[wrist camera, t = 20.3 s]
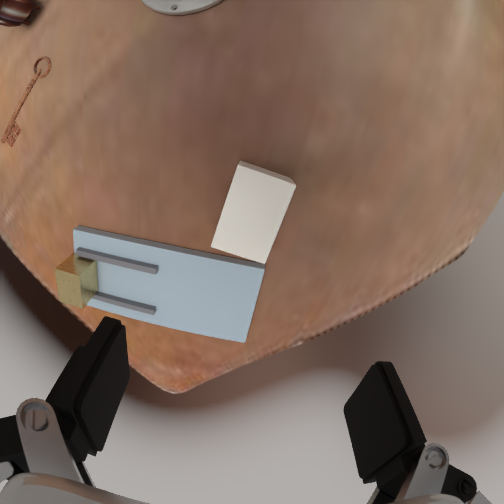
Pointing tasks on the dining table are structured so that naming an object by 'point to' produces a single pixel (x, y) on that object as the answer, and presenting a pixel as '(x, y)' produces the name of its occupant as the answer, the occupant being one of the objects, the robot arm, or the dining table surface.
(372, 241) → the dining table surface
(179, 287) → the plate
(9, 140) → the key
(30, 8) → the alarm clock
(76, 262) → the block
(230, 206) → the white rectangular block
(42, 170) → the dining table surface
